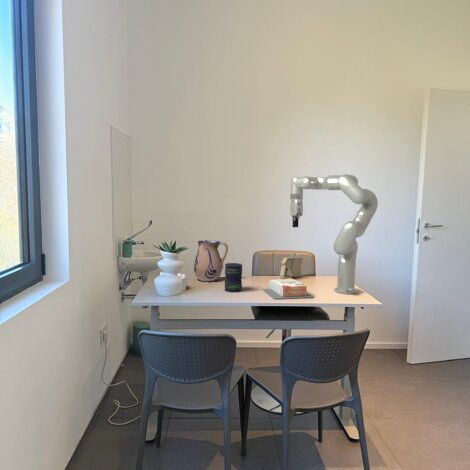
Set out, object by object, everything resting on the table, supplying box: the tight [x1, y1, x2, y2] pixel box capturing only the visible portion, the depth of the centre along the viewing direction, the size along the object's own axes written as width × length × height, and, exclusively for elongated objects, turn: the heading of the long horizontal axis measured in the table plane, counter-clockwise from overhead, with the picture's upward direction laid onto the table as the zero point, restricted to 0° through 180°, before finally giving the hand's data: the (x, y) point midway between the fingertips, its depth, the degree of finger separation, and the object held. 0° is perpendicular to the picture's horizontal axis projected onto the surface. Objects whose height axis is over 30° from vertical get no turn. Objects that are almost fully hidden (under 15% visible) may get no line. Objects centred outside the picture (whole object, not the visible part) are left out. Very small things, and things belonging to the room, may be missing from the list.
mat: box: [262, 288, 314, 301], centre depth 229 cm, size 22×22×1 cm
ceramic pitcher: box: [193, 239, 229, 282], centre depth 259 cm, size 18×21×25 cm
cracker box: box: [268, 277, 308, 297], centre depth 230 cm, size 14×6×21 cm
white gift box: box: [175, 272, 187, 293], centre depth 233 cm, size 10×13×9 cm
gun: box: [279, 256, 304, 279], centre depth 272 cm, size 24×3×15 cm, turn 143°
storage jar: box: [224, 262, 243, 293], centre depth 233 cm, size 10×10×18 cm
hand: (295, 227), depth 255 cm, fingers closed
